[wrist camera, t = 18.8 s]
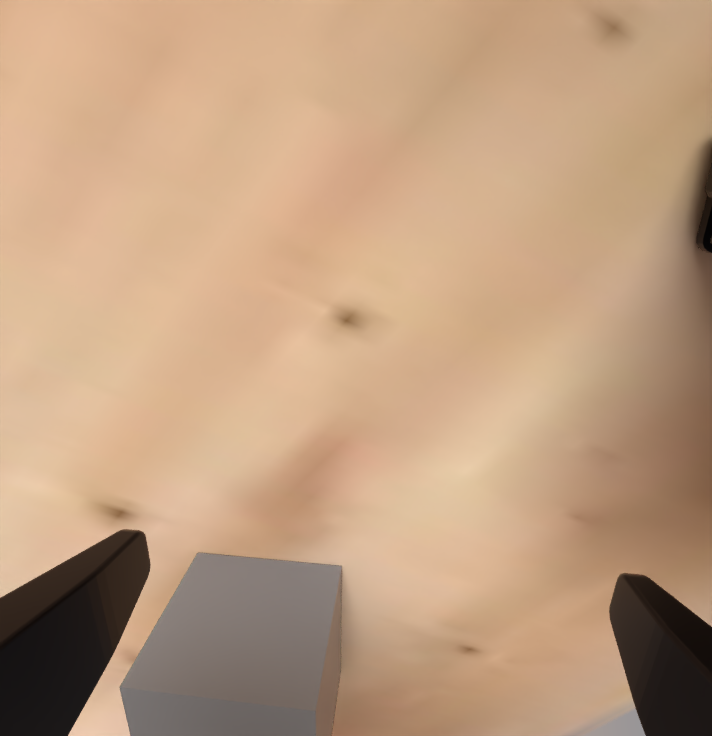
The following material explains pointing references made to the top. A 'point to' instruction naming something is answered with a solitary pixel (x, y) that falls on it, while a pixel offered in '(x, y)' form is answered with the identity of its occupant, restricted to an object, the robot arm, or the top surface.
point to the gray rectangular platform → (241, 652)
